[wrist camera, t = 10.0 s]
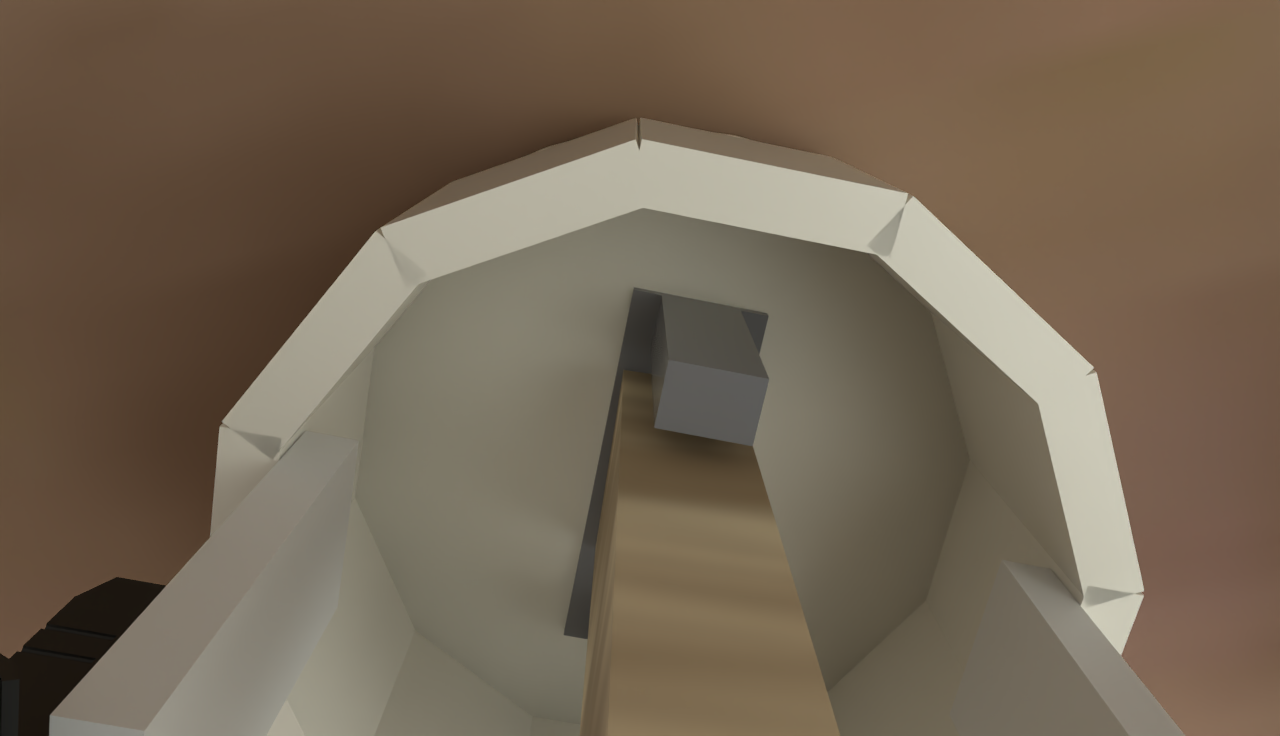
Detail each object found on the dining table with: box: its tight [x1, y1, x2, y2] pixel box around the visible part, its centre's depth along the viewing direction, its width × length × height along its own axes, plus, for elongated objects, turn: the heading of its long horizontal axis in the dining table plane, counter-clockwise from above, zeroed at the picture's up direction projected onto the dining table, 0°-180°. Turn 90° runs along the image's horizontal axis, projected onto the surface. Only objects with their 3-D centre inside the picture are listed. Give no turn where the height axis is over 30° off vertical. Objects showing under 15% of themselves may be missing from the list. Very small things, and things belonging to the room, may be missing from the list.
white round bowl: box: [210, 117, 1144, 736], centre depth 17 cm, size 13×13×6 cm
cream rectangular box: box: [579, 370, 840, 736], centre depth 13 cm, size 4×2×11 cm, turn 171°
